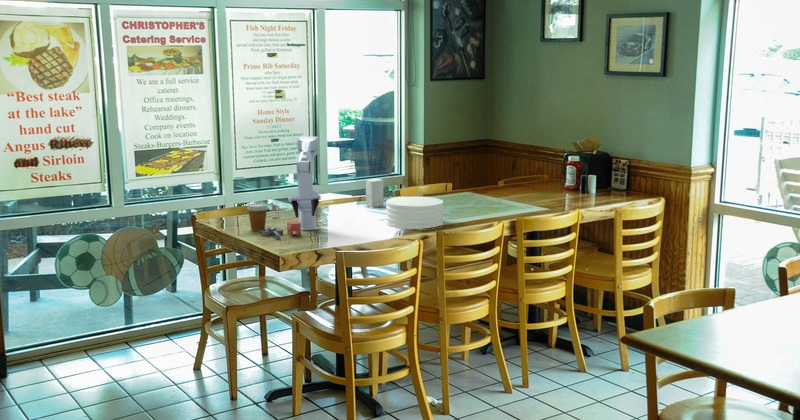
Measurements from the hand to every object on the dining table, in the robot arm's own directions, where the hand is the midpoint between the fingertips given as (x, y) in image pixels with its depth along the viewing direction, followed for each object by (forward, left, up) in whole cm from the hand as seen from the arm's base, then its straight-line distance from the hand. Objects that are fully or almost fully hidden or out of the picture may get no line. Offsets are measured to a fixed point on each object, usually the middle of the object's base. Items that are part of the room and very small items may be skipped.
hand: (305, 216), depth 382 cm
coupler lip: (-7, -13, -9) cm, 17 cm away
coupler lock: (-6, -4, -10) cm, 12 cm away
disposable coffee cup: (-23, -17, -10) cm, 30 cm away
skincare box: (-61, +56, -10) cm, 84 cm away
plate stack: (-10, +58, -10) cm, 60 cm away
